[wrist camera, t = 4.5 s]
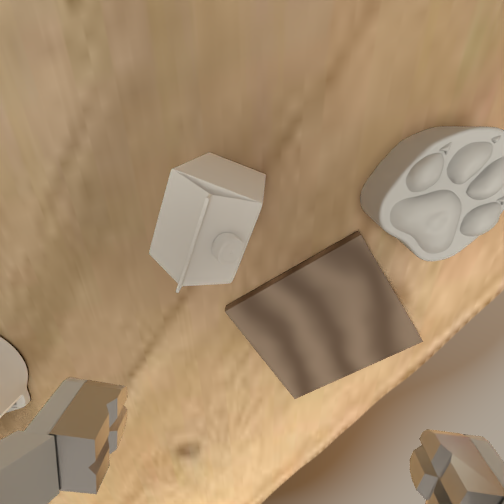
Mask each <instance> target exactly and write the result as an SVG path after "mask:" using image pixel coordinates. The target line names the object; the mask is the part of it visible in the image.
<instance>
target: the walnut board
mask: <svg viewBox="0 0 504 504" xmlns="http://www.w3.org/2000/svg"><path fill="white" fill-rule="evenodd" d="M225 312H226V314H227V315H228V316H229V317H230V319H231V320H232V321H233V322H234V324H235V325H236V326H237V327H238V329H239V330H240V331H241V332H242V334H243V335H244V336H245V337H246V339H247V340H248V341H249V342H250V344H251V345H252V346H253V347H254V349H255V350H256V351H257V352H258V354H259V355H260V356H261V357H262V359H263V360H264V361H265V362H266V364H267V365H268V366H269V367H270V369H271V370H272V371H273V372H274V374H275V375H276V376H277V377H278V379H279V380H280V381H281V382H282V384H283V385H284V386H285V387H286V389H287V390H288V391H289V392H290V394H291V395H292V396H293V397H294V399H296V398H298V397H300V396H303V395H305V394H307V393H309V392H312V391H314V390H316V389H318V388H320V387H323V386H325V385H327V384H329V383H332V382H334V381H336V380H338V379H341V378H343V377H345V376H347V375H349V374H352V373H354V372H356V371H358V370H361V369H363V368H365V367H367V366H369V365H372V364H374V363H376V362H378V361H381V360H383V359H385V358H387V357H390V356H392V355H394V354H396V353H398V352H401V351H403V350H405V349H407V348H410V347H412V346H414V345H416V344H419V343H421V342H423V341H422V339H421V337H420V335H419V334H418V332H417V330H416V329H415V327H414V325H413V323H412V322H411V320H410V318H409V317H408V315H407V313H406V311H405V310H404V308H403V306H402V305H401V303H400V301H399V299H398V298H397V296H396V294H395V293H394V291H393V289H392V287H391V286H390V284H389V282H388V281H387V279H386V277H385V275H384V274H383V272H382V270H381V268H380V267H379V265H378V263H377V262H376V260H375V258H374V256H373V255H372V253H371V251H370V250H369V248H368V246H367V244H366V243H365V241H364V239H363V238H362V236H361V234H360V233H359V232H358V231H357V232H355V233H353V234H351V235H350V236H348V237H346V238H344V239H343V240H341V241H339V242H337V243H335V244H334V245H332V246H330V247H328V248H327V249H325V250H323V251H321V252H320V253H318V254H316V255H314V256H313V257H311V258H309V259H307V260H306V261H304V262H302V263H300V264H299V265H297V266H295V267H293V268H292V269H290V270H288V271H286V272H285V273H283V274H281V275H279V276H278V277H276V278H274V279H272V280H271V281H269V282H267V283H265V284H264V285H262V286H260V287H258V288H257V289H255V290H253V291H251V292H250V293H248V294H246V295H244V296H243V297H241V298H239V299H237V300H235V301H234V302H232V303H230V304H228V305H227V306H226V309H225Z"/></svg>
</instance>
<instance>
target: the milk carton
mask: <svg viewBox="0 0 504 504" xmlns="http://www.w3.org/2000/svg"><path fill="white" fill-rule="evenodd" d="M265 180H266V174H264V173H261V172H259V171H256V170H254V169H251V168H248V167H246V166H243V165H241V164H238V163H236V162H233V161H231V160H228V159H225V158H223V157H220V156H218V155H215V154H213V153H210V152H209V153H206V154H204V155H202V156H200V157H197V158H195V159H193V160H191V161H189V162H186V163H184V164H182V165H180V166H177V167H175V168H173V169H171V172H170V175H169V179H168V183H167V187H166V190H165V194H164V198H163V201H162V205H161V209H160V213H159V216H158V220H157V224H156V228H155V231H154V235H153V239H152V243H151V246H150V251H149V254H150V255H151V256H152V257H153V258H154V259H155V260H156V262H157V263H158V264H159V265H160V266H161V267H162V268H163V269H164V270H165V271H166V272H167V273H168V274H169V275H170V276H171V277H172V278H173V279H174V280H175V281H176V282H177V283H178V286H177V289H176V293H179V291H180V289H181V287H182V286H195V285H212V284H228V283H231V282H232V281H233V279H234V277H235V274H236V272H237V269H238V267H239V264H240V262H241V259H242V257H243V254H244V252H245V249H246V247H247V244H248V242H249V239H250V237H251V234H252V231H253V229H254V226H255V224H256V221H257V219H258V216H259V214H260V211H261V208H262V205H263V198H264V189H265Z"/></svg>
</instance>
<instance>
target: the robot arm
mask: <svg viewBox="0 0 504 504" xmlns="http://www.w3.org/2000/svg"><path fill="white" fill-rule="evenodd" d="M27 381H28V371H27V367H26V365H25V362H24V360H23V359H22V357H21V356H20V354H19V353H18V352H17V350H16V349H15V348H14V347H13V346H12V345H10V344H9V343H8V342H7V341H6V340H4V339H3V338H1V337H0V418H1V417H2V416H3V415H4V414H5V413H7V412H10V411H13V410H16V409H20V408H23V407H25V406H26V405H27V404H28V403H29V402H30V396H29V393H28V390H27ZM127 397H128V395H127V387H126V386H121V385H115V384H109V383H103V382H98V381H92V380H84V379H78V378H72V377H69V378H67V379H66V380H64V381H63V382H62V383H61V385H60V386H59V387H58V388H57V390H56V391H55V392H54V393H53V395H52V396H51V397H50V399H49V400H48V401H47V402H46V404H45V405H44V406H43V407H42V409H41V410H40V411H39V413H38V414H37V415H36V416H35V418H34V419H33V420H32V421H31V423H30V424H29V425H28V426H27V428H26V429H25V430H24V431H16V432H14V433H12V434H10V435H9V436H7V437H5V438H3V439H2V440H0V504H48V503H49V502H50V501H51V500H52V499H53V498H54V497H56V496H57V495H58V494H59V490H60V491H70V492H80V493H90V494H97V492H98V490H99V487H100V485H101V483H102V481H103V479H104V476H105V474H106V472H107V470H108V468H109V454H111V453H112V452H113V451H115V450H116V449H117V448H118V445H119V443H120V441H121V438H122V435H123V432H124V429H125V426H126V420H127V409H126V407H125V406H124V403H125V401H126V399H127ZM420 441H421V444H422V445H421V446H420V447H418V448H417V449H415V450H414V451H413V453H412V455H411V458H410V473H411V477H412V481H413V483H414V486H415V488H416V490H417V491H418V492H419V493H420V494H421V495H422V496H423V497H424V498H425V499H426V503H425V504H504V461H503V460H502V459H501V457H500V456H499V454H498V453H497V452H496V450H495V449H494V448H493V446H492V445H491V444H490V442H489V441H488V440H486V439H485V438H484V437H481V436H473V435H466V434H459V433H452V432H445V431H437V430H429V429H427V430H425V431H424V432H423V433H422V435H421V437H420Z"/></svg>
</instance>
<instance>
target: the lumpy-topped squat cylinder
mask: <svg viewBox="0 0 504 504" xmlns="http://www.w3.org/2000/svg"><path fill="white" fill-rule="evenodd" d="M360 203H361V207H362V209H363V211H364V212H365V213H366V214H367V215H368V216H369V217H370V218H371V219H373V220H374V221H375V222H376V223H377V224H378V225H379V226H380V227H381V228H382V229H383V230H384V231H386V232H387V233H389V234H390V235H392V236H394V237H396V238H397V239H398V240H400V241H401V242H402V243H403V244H404V245H405V246H406V247H407V248H408V249H409V250H410V251H412V252H413V253H414V254H415V255H416V256H417V257H419V258H420V259H422V260H425V261H439V260H443V259H446V258H449V257H451V256H453V255H455V254H457V253H458V252H460V251H461V250H462V249H464V248H465V247H466V246H467V245H468V244H470V243H471V242H472V241H474V240H475V239H476V238H477V237H478V236H479V235H482V234H484V233H486V232H488V231H489V230H490V229H492V228H493V227H494V226H495V225H496V223H497V222H498V220H499V217H500V214H501V213H502V212H503V210H504V130H502V129H499V128H495V127H468V126H441V127H433V128H430V129H426V130H424V131H421V132H419V133H416V134H414V135H412V136H409V137H407V138H405V139H404V140H402V141H401V142H400V143H398V144H397V145H396V146H395V147H394V148H393V149H392V150H391V151H390V152H389V153H388V154H387V156H386V157H385V158H384V159H383V160H382V161H381V162H380V163H379V165H378V166H377V167H376V169H375V170H374V171H373V173H372V174H371V175H370V177H369V178H368V180H367V181H366V183H365V184H364V186H363V189H362V192H361V197H360Z"/></svg>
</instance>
